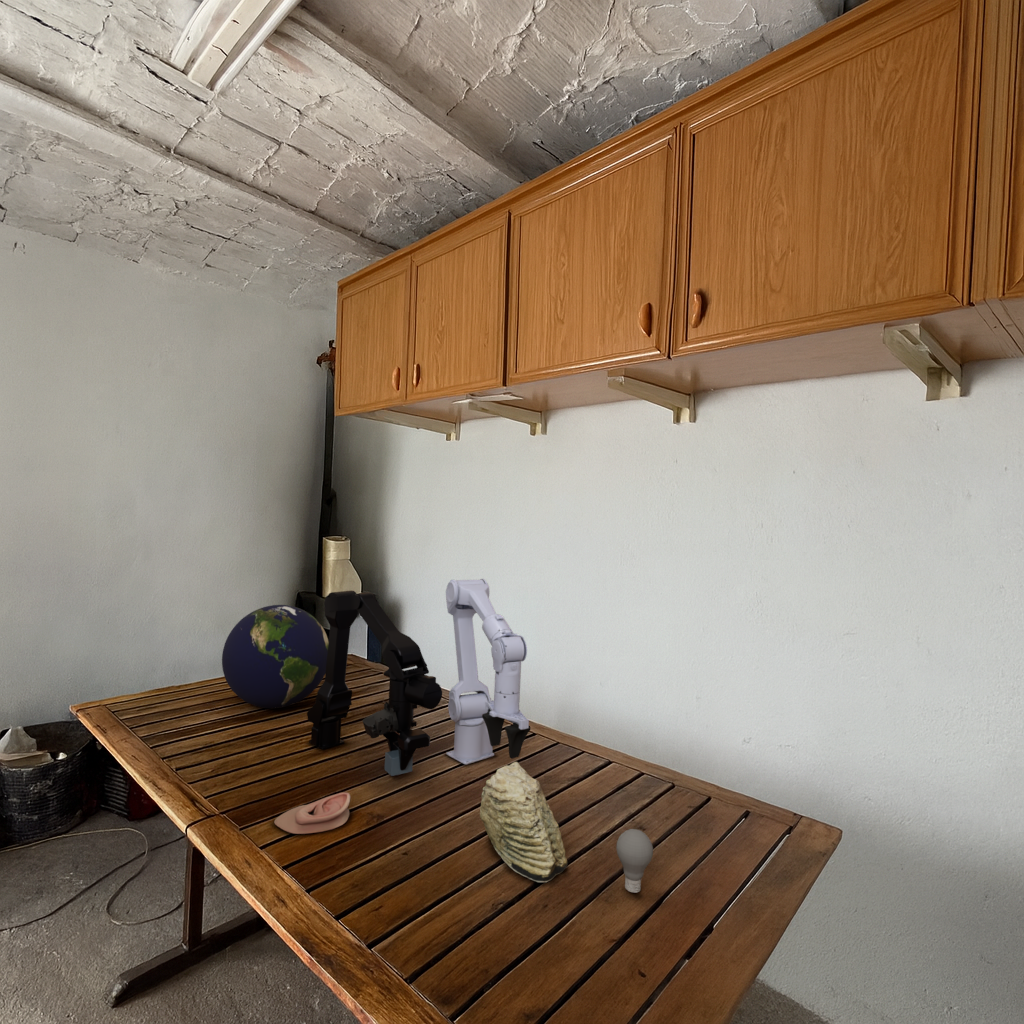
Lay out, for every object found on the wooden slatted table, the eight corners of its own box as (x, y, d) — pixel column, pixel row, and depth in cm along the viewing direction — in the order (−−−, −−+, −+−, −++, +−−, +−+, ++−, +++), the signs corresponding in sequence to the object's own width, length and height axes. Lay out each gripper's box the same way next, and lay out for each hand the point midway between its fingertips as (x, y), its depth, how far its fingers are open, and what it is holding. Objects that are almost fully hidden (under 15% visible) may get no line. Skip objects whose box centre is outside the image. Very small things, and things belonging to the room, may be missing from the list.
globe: (289, 685, 209) (292, 594, 208) (348, 705, 191) (352, 606, 191) (199, 706, 185) (203, 604, 184) (258, 732, 167) (262, 619, 167)
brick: (384, 769, 145) (385, 752, 145) (404, 765, 148) (405, 748, 147) (391, 776, 141) (392, 758, 141) (412, 771, 144) (413, 754, 144)
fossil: (501, 827, 124) (504, 751, 124) (575, 868, 111) (578, 784, 111) (467, 843, 118) (470, 763, 118) (541, 889, 105) (545, 799, 105)
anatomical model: (265, 808, 120) (298, 782, 131) (265, 829, 120) (297, 801, 131) (330, 818, 117) (357, 791, 128) (329, 840, 117) (357, 810, 128)
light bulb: (610, 879, 108) (613, 822, 108) (644, 879, 109) (647, 822, 109) (619, 902, 102) (622, 840, 102) (655, 901, 103) (658, 840, 103)
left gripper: (352, 691, 147) (349, 758, 148) (384, 716, 132) (381, 790, 132) (396, 685, 154) (394, 749, 154) (432, 708, 138) (429, 779, 139)
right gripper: (474, 684, 145) (472, 743, 145) (510, 702, 133) (507, 766, 133) (500, 680, 149) (498, 737, 149) (537, 697, 137) (534, 760, 137)
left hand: (398, 766), depth 144 cm, fingers closed on brick, 4 cm apart
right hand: (504, 751), depth 141 cm, fingers open, 7 cm apart
